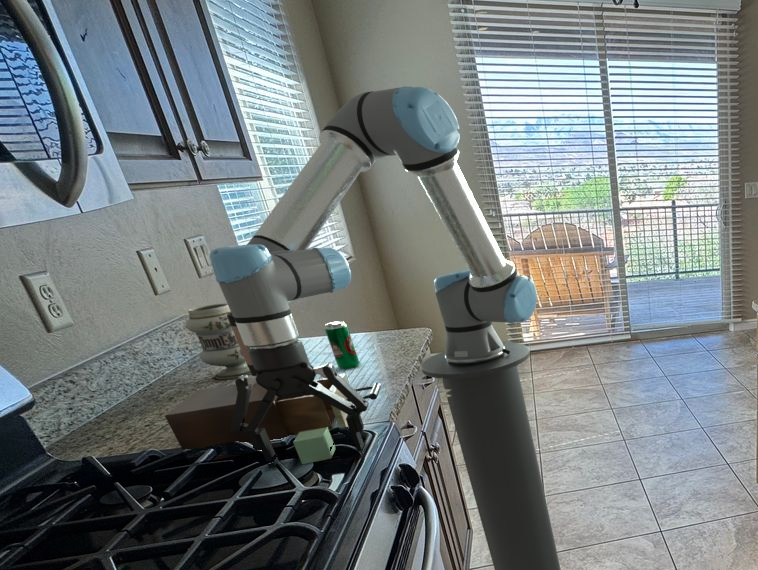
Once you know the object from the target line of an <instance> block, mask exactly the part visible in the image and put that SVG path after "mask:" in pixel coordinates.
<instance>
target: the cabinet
mask: <svg viewBox="0 0 758 570" xmlns="http://www.w3.org/2000/svg"><path fill="white" fill-rule="evenodd" d="M267 391H268V390H266V389H265V388H263V387H262V386H260V385H259V384H258V383H255V386H254V387H253V388H252V389H251V394H250V399H249V404H248V409H247V414H246V419H245V423H246V424H249V423H250V421H251V419H252V417H253V416H254V414H255V412H256V410H257V409H258V407H259V405H260V404H261V402H262V400H263V398H264V396H265V394H266V392H267ZM237 394H238V391H237V387H236V384H235V383H234V384H230V385H222V386H215V387H209V388H202V389H196V390H194V391H193V392H192V393H191V394H190V395H188V396H187V397H186V398H185V399H183V400H181V402H180V403H178V404H177V405H176V406H175V407H173V408H172V409H171V410H170V411H169V412H167V413H166V414H165V415H164V417H165V419H166V422H167V423H168V424H169V427H170V429H171V430H172V431H171V432H172V433H173V434H174V436H175V438H176V440H177V442H178V444H179V446H180V448H181V450H182V451H183V450H185V449H194V448H204V447H209V446H210V445H215V444H220V443H226V442H234V441H239V442H249V443H251V441H250V439H249V436H248V435H247V434H245V433H232V432H231V425H232V420H233V414H234V409H235V404H236V399H237ZM277 398H278V396H276V397H275V399H274V401H273V402H272V404H271V406H270V408H269V409H268V411H267V413H266V415H265V416H264V418H263V420H262V421H261V423H260V425H259V427H258V430H259V429H261V428H265V430H266V433H267V435H268V437H269V440H273V439H281V438H284V437H287V436H289V434H288V432H287V429H286V427H285V424H284V422H283V420H282V417H281V415H280V412H279V410H278V408H277V405H276V403H275V400H276V399H277ZM239 456H240V455H223V456H218V457H216V458H214V459H213V460H212V461H216V460H222V459H223V460H224V459H228V458H234V457H239Z"/></svg>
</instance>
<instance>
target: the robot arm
mask: <svg viewBox="0 0 758 570" xmlns="http://www.w3.org/2000/svg"><path fill="white" fill-rule="evenodd" d="M459 130H460V125H459V121H458V119H457V117H456V114H455V112H454V110H453V109H452V107H451V106H450V105H449V104H448V102H447V101H446V100H445V98H443V97H442V96H441V95H440V94H439V93H437V92H435V91H433V90H431V88H428V87H423V86H406V85H404V86H401V87H394V88H387V89H380V90H375V91H373V90H372V91H366V92H362V93H360V94H357V95H355V96H354V97H352V98H351V99H349V100H348V101H347V102H346V103H345V104H343V105H342V106H341V108H339V110H337V111H336V113H335V114H334V115H333V116H332V118H330V120H329V121H328V122H327V123H326V125H325V126H324V128H323V129H322V130H321V132H320V133H319V134H318V141H319V143H320V144H319V146H318V147H317V149H316V150H315V151H314V153H313V154H312V155H311V157H309V160H308V161H307V162H306V163H305V165H304V166H303V168H302V169H301V170H300V172H299V173H298V174H297V176H296V177H295V179H294V180H293V181H292V182H291V184H290V186H289V187H288V188H287V190H286V191H285V192H284V194H283V195H282V196H281V198H280V199H278V200H279V201H278V202H277V203H276V204H275V206H274V207H273V208H272V210H271V211H270V213H269V214H268V215H267V217H266V218H265V219H264V221H263V222H262V224H261V225H260V227H258V229H257V230H256V232H255V233H254V235H253V236H252V237H251V239H250V240H249V241H248V242H247V244H242V245H241V244H240V245H231V246H221V247H218V248H217V247H216V248H214V249H213V250H211V251H210V253H209V260H210V263H211V268H212V270H213V273H214V277H215V281H216V283H218V285H219V287H220V290H221V292H222V294H223V297H224V299H225V301H226V304H228V306H229V308H230V311H231V313H232V315H233V317H234V320H235V323H236V325H237V328H238V330H239V333H240V335H241V338H242V340H243V342H244V345H246V346H248V347H250V348H249V349H248V351H247V352H248V354H249V357H250V359H251V362H252V364H253V366H254V369H255V371H256V374H257V375H256V376H252V375H241V376H240V377H236V378H235V380H234V385H235V384H236V387H237V391H238V394H237V399H236V404H235V409H234V414H233V420H232V425H231V432H232V433H245V434H247V435H248V436H249V439H250V441H251V443H252V445H253V448H254V449H255V450H256V451H257V450H262V451H261V453H262V455H263V457H264V460H265V462H266V463H267V461H269V460H271V459H272V457H273V456H274V455H275V454H276V451H275V449H273V447H272V444H271V442H270V440H269V437H268V435H267V433H266V430H265V428H261V429H259V430H258V427H259V425H260V423H261V421H262V420H263V418H264V416H265V415H266V413H267V411H268V409H269V408H270V406H271V404H272V402H273V401H274V399H275V397H276V396H278V397H282V398H288V397H290V396H301V395H304V394H305V393H309V394H311V395H313V396H317V397H318V398H320V399H322V400H324V401H325V402H327V403H329V404H330V405H332V406H334V407H336V408H337V409H339V410H341V411H343V412H344V413H346V414H348V415H347V417H346V421H347V424H348V429H349V432H350V435H351V438H352V441H353V443H354V446H355V449H356V451H357V452H360V451H363V448H364V445H365V443H364V440H363V438H362V435H361V432H363V431H364V430H365V429H364V428H365V424H364V421H363V419H362V415H361V414H362V413H364V412H366V411H367V410H368V408H369V405H370V404H369V401H368V400H367V399H364V398H363V397H362V396H363V395H361V394H360V393H359V391H356V390H355V389H354V388H353V386H352V385H351V384H350V383H349V382H348V383H349V384H348V383H347V382H346V381H345V380H344V379H343V378H342V377H341V376H340V375H339V374H340V373H338V371H337V369H336V367H335V365H334V364H333V362H330V361H329V362H326V363H325V364H324V365H319V366H316V367H314V366H313V365H312V364H311V362H310V359H309V357H308V354H307V350H306V349H305V345H304V342H303V341H302V340H300V339H298V338H299V337H300V332H299V330H298V327H297V324H296V322H295V319H294V316H293V314H292V311H291V309H290V305H289V302H292V301H295V300H299V299H303V298H308V297H314V296H318V295H323V294H327V293H331V294H332V293H334V292H336V291H340V290H343V289H345V288H347V287H348V286H349V285H350V283H351V280H352V272H351V271H352V270H351V267H350V264H349V262H348V260H347V258H346V257H345V256H344V255H343V254H342V253H341V252H340V251H338V250H337V249H335V248H333V247H312V248H310V246H311V245H312V243H313V242H314V240H315V239H316V237H317V236H318V234H319V233H320V231H321V230H322V228H323V227H324V226H325V224H326V223H327V221H328V220H329V218H331V215H332V214H333V213H334V211H335V210H336V208H337V207H338V205H339V203H340V202H342V199H343V198H344V196H345V195H346V194H347V192H348V191H349V189H350V188H351V186H352V185H353V183H354V182H355V180H356V179H357V177H358V176H359V174H361V173H366V172H368V171H370V169H371V168H372V166H373V165H374V163H376V162H377V161H379V160H380V159H383V158H386V157H391V156H397V158H398V159H399V161H400V163H401V165H402V167H403V169H404V170H405V171H406V172H407V173H410V174H412V175H415V176H416V177H417V179H418V180H419V182H420V184H421V186H422V187H423V189H424V191H425V193H426V195H427V197H428V199H429V200H430V202H431V204H432V205H433V207H434V210H435V211H436V213H437V215H438V216H439V218H440V220H441V222H442V224H443V226H444V227H445V229H446V231H447V232H448V234H449V237H450V238H451V240H452V241H453V243H454V246H455V247H456V249H457V251H458V253H459V254H460V256H461V258H462V259H463V262H464V264H465V265H466V267H467V269H464V270H459V271H455V272H449V273H446V274H442V275H438V276H436V277H435V278H434V280H433V285H434V291H435V293H434V294H435V296H436V300H437V304H438V308H439V311H440V314H441V318H442V321H443V325H444V328H445V333H446V336H445V337H446V339H445V348H444V349H445V350H444V351H445V358H446V361H447V363H448V364H450V365H454V366H470V365H478V364H483V363H487V362H491V361H494V360H497V359H499V358H501V357H502V356H504V355H505V353H507V354H509V353H510V351H509V350H506V349H505V348H504V345H503V343H502V342H503V341H502V340H501V338H500V337H499V335H498V333H497V332H496V330H495V329H494V326H493V323H508V324H517V323H518V324H519V323H524V322H526V321H528V320H529V319H531V317H532V316H533V315H534V312H535V310H536V306H537V302H538V294H537V293H538V292H537V288H536V285H535V282H534V281H533V279H531V278H530V277H528V276H526V275H520V274H519V272H518V270H517V268H516V266H515V264H514V262H513V261H510V260H509V259H508V260H507V259H505V257H504V255H503V253H502V252H501V249H500V247H499V246H498V245H499V244H498V243H497V241H496V239H495V236H493V233H492V231H491V229H490V227H489V225H488V223H487V221H486V219H485V217H484V215H483V212H482V211H481V208H479V205H478V203H477V201H476V199H475V198H474V195H473V192H472V190H471V189H470V187H469V185H468V183H467V181H466V179H465V177H464V174H463V173H462V171H461V169H460V166H459V165H458V163H457V160H458V158H459V155H460V151H459V149H458V147H457V146H458V144H459V141H460V136H461V134H460V133H459ZM317 375H319V376H321V378H322V379H325V378H327V379H328V381H329V382H330V383H331V384H332V385H333V386H334V387H335V388H337V389H338V390H339V391H340V392H341V393H342V394H343V395H344V396H345V397H346V398H347V399H348V400H350V401H351V402H352V403H353V404H352V403H350V402H348V401H347V400H345V399H343V398H342V397H340V396H338V395H337V394H335V393H333V392H331V391H330V390H328V389H326V388H325V387H323V385H322V384H320V383H318V382H317V381H315V380H316V379H315V378H316V377H317ZM255 383H258V384H259V385H260V386H262V387H263V388H265V389H266V390H268V391H267V392H266V394H265V396H264V398H263V400H262V402H261V404H260V405H259V407H258V409H257V410H256V412H255V414H254V416H253V417H252V419H251V421H250V423H249V424H246V423H245V419H246V414H247V409H248V404H249V399H250V394H251V389H252V388H253V387H254V386H255ZM278 462H279V458H278V456H277V457H276V459H275V460H274V462H273V463H271V464H267V466H268V468H269V469H271V468H275V467H276V465H277V464H278Z"/></svg>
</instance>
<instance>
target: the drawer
mask: <svg viewBox="0 0 758 570" xmlns="http://www.w3.org/2000/svg"><path fill="white" fill-rule="evenodd" d="M338 374H339V375H340V376H341V377H342V378H343V379H344V380H345V381H346V382H347V383H348V384H349V385H350V383H349V380H348V377H347V374H346V373H345V372H344V373H338ZM314 380H315V381H317V382H318V383H320V384H322V385H323V387H325V388H326V389H328V390H330V391H331V392H333V393H335V394H337V395H338V396H340V397H342V398H343V399H345V400H347V401H348V402H350V403H352V402H351V401H350V400H348V399H347V398H346V397H345V396H344V395H343V394H342V393H341V392H340V391H339V390H338V389H337V388H335V387H334V386H333V385H332V384H331V383H330V382H329V381H328V379H327V378H319V379H314ZM381 388H382V384H381V383H380V382H374V383H373V385H372V384H371V385H367V386H361V387H354V388H353V389H355V390H356V391H357V392H362V391H370V392H369V394H365V395H361V396H362V397H363V398H364V399H365V400H368V399H369V400H371V401H374V400H377V398H378V396H379V394H380V391H381ZM275 403H276V405H277V408H278V410H279V412H280V415H281V417H282V420H283V422H284V424H285V427H286V429H287V432H288V434H289V435H298V433H299V432H304V431H309V430H315V429H320V428H326V427H328V430H329V431H330V430H333V429H334V427H335V424H336V423H337V426H338V428H339V429H340V428H344V427H348V424H347V421H346V417H347V415H348V414H346V413H344V412H343V411H341V410H339V409H337V408H336V407H334V406H332V405H330V404H329V403H327V402H325V401H324V400H322V399H320V398H318V397H317V396H313V395H311V394H309V393H305V394H304V395H301V396H290V397H288V398H282V397H278V398H277V399H276V400H275ZM352 404H353V403H352ZM348 428H349V427H348Z"/></svg>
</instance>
